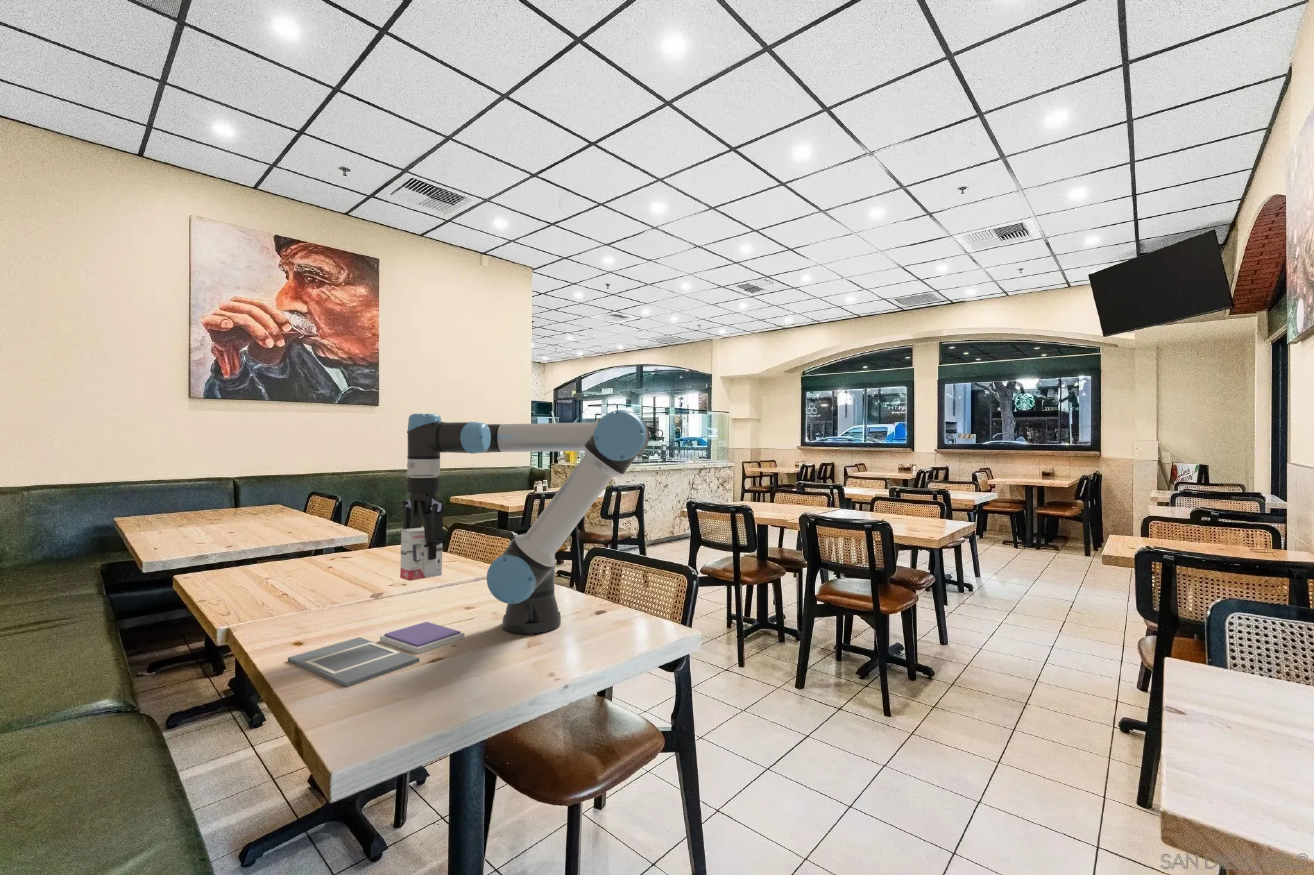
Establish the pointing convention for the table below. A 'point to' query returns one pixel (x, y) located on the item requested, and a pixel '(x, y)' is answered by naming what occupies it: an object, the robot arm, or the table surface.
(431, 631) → the ink pad
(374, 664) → the slate board
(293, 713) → the table surface
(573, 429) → the robot arm
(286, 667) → the table surface
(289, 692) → the table surface
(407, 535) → the ink box
